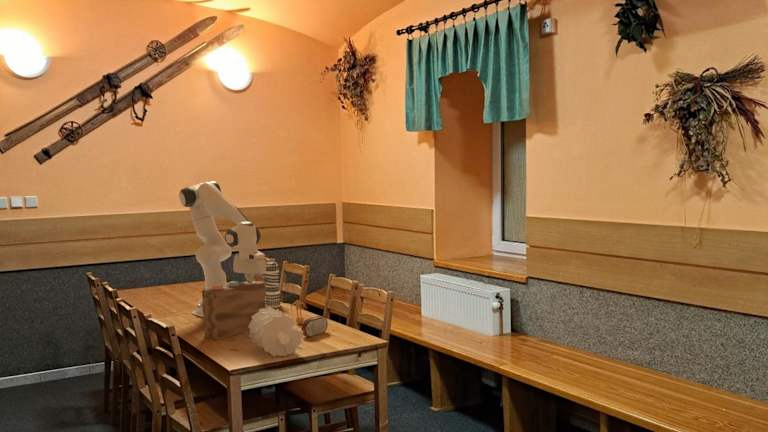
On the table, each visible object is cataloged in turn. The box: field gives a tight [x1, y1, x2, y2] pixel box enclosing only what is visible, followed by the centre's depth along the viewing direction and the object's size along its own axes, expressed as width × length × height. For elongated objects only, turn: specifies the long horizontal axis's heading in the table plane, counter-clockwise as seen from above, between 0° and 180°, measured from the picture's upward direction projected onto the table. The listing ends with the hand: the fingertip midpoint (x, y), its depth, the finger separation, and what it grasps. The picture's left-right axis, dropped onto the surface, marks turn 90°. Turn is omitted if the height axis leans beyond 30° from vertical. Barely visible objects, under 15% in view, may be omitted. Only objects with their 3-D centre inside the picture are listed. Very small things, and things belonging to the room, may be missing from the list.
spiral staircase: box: [248, 307, 304, 358], centre depth 292 cm, size 18×18×25 cm
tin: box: [301, 315, 328, 338], centre depth 319 cm, size 15×3×8 cm, turn 141°
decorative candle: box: [263, 261, 282, 309], centre depth 388 cm, size 9×9×25 cm
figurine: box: [290, 299, 308, 325], centre depth 343 cm, size 8×6×12 cm
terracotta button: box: [212, 285, 223, 291], centre depth 322 cm, size 5×5×2 cm
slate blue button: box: [228, 280, 240, 288], centre depth 330 cm, size 5×5×2 cm
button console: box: [201, 280, 267, 340], centre depth 331 cm, size 10×30×22 cm, turn 143°
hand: (249, 282), depth 338 cm, fingers closed, pressing on cream button
